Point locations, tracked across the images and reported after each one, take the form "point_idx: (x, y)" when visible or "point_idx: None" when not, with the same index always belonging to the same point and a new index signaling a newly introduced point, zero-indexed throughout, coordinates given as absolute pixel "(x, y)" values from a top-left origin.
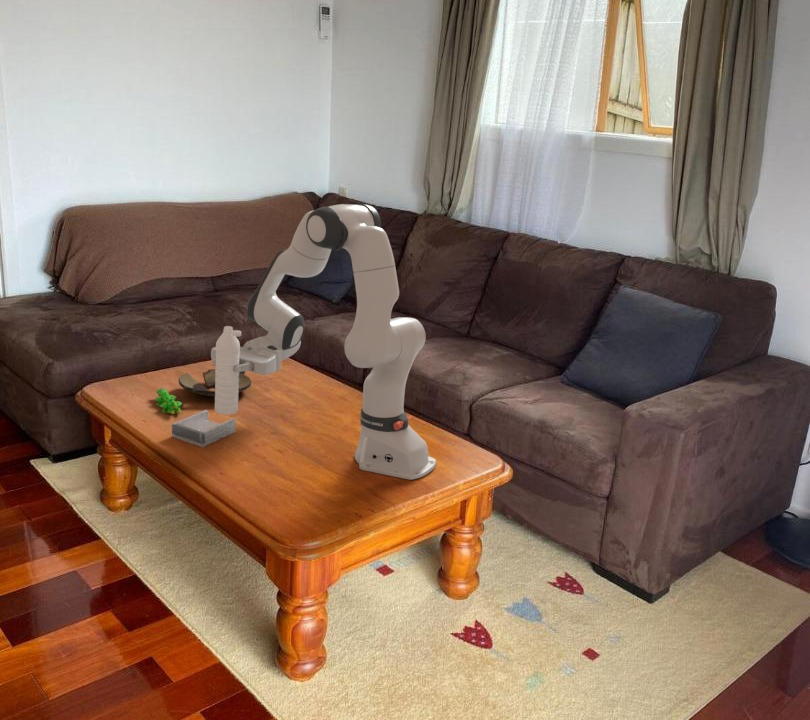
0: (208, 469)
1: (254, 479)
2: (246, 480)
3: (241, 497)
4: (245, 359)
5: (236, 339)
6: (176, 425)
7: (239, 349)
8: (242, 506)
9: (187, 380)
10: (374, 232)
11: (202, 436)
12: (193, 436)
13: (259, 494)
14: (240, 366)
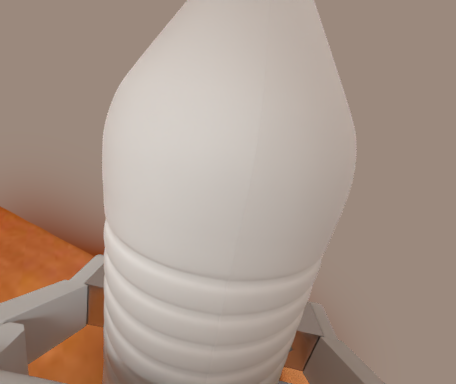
0: None
1: (23, 293)
2: (43, 286)
3: (52, 248)
4: (13, 373)
5: (147, 49)
6: (280, 381)
7: (103, 176)
8: (49, 234)
9: None
10: None
11: None
12: None
13: (17, 258)
14: (78, 277)
